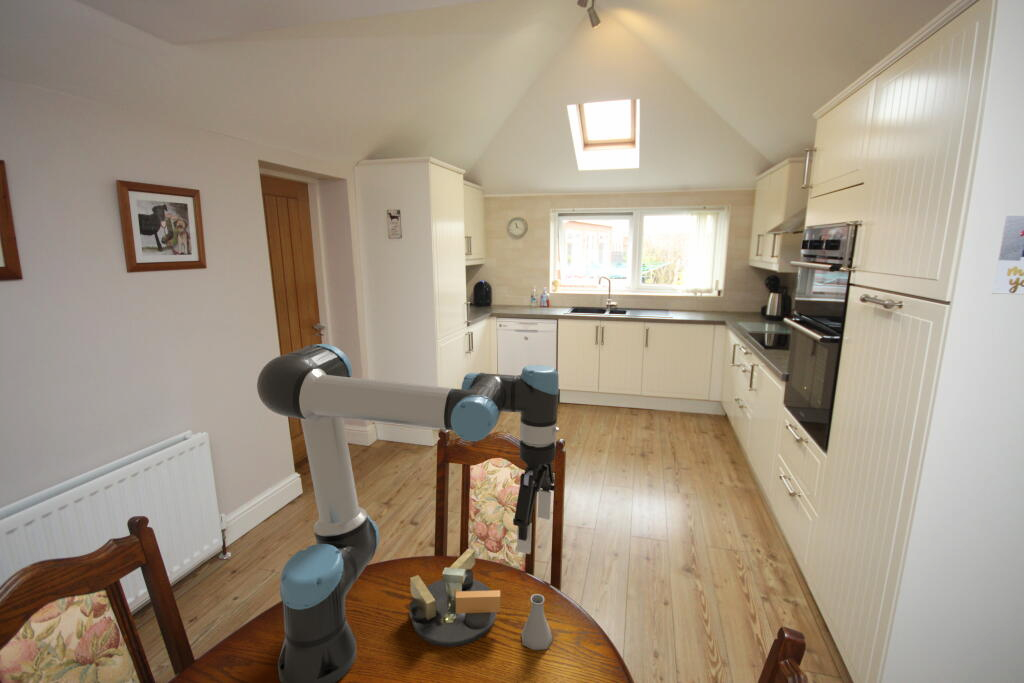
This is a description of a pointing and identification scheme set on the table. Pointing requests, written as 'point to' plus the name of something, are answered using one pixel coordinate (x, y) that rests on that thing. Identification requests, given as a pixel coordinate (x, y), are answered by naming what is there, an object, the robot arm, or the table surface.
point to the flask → (536, 626)
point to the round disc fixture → (446, 605)
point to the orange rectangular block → (477, 606)
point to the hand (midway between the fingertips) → (534, 533)
